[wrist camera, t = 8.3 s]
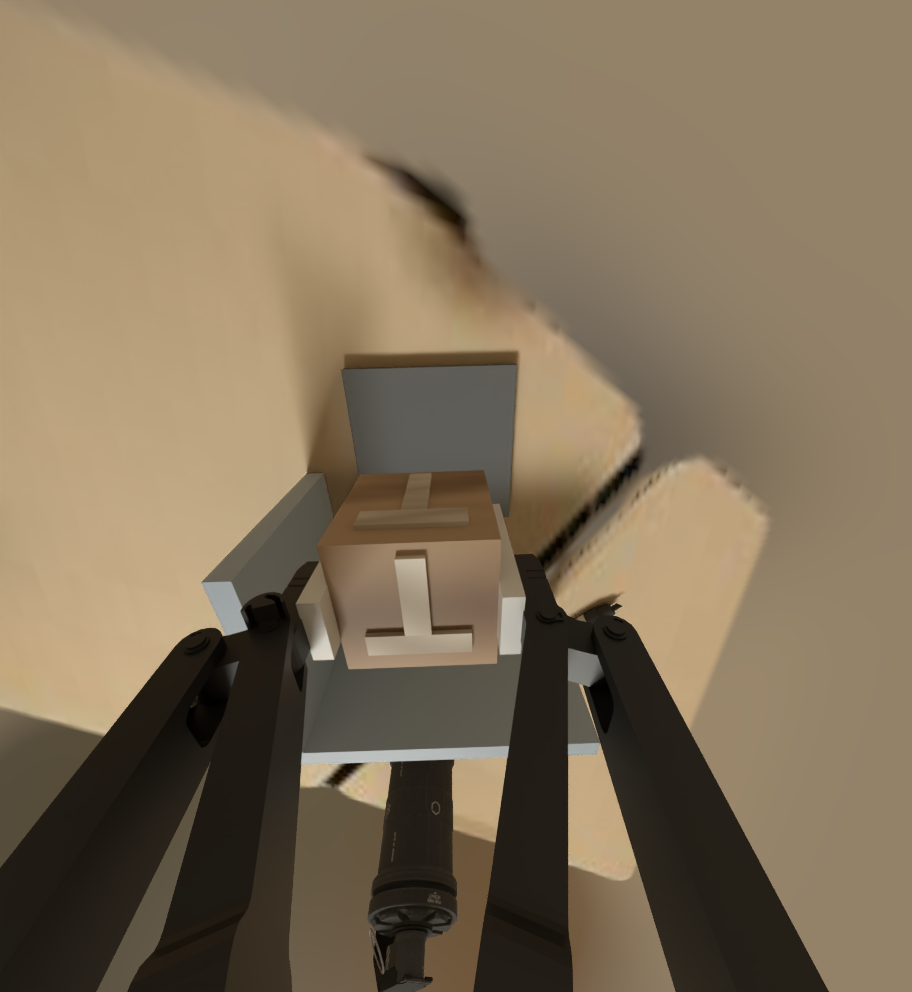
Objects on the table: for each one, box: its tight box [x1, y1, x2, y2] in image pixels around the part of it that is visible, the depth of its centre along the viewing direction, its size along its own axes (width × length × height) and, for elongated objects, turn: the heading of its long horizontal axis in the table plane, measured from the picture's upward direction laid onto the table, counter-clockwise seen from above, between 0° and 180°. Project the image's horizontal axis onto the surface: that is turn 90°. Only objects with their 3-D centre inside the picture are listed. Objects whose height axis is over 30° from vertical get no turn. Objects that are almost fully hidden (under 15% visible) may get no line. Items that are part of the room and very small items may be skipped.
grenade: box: [368, 759, 457, 992], centre depth 40 cm, size 9×11×20 cm
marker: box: [576, 603, 622, 623], centre depth 38 cm, size 15×2×2 cm, turn 133°
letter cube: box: [316, 470, 501, 669], centre depth 15 cm, size 6×6×6 cm
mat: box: [341, 364, 517, 517], centre depth 28 cm, size 13×13×1 cm
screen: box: [201, 473, 600, 765], centre depth 27 cm, size 17×23×14 cm
